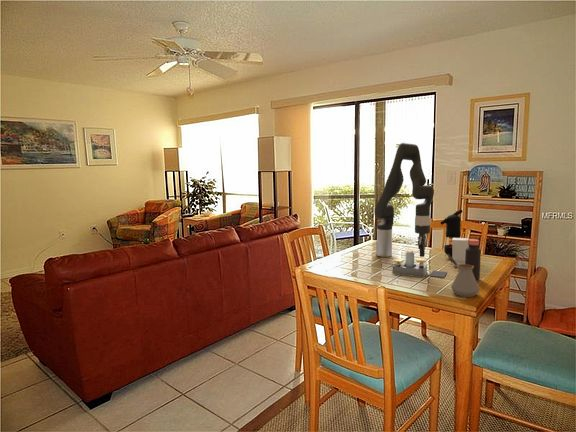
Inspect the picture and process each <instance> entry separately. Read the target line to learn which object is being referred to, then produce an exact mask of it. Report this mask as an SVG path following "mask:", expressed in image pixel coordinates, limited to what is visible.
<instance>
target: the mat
mask: <svg viewBox="0 0 576 432" xmlns="http://www.w3.org/2000/svg"><path fill="white" fill-rule="evenodd" d="M447 274H448V271H442V270H432V271H431V272H430V275H429V277H431V278H432V277H433V278H441V279H445V277H446V275H447Z"/></svg>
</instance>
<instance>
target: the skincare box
mask: <svg viewBox="0 0 576 432" xmlns="http://www.w3.org/2000/svg"><path fill="white" fill-rule="evenodd" d="M468 239H469V238H468V237H466V238H465V237H460V238H453V239H451V242H452V258H453V259H454V260H455V262H456V263H457V265H461V264H465V252H466V248H468V247H469V245H468ZM451 262H452V261H451ZM451 265H452V267H457V266H456V265H455V264H454V263H453V262H452V263H451ZM457 268H458V267H457Z"/></svg>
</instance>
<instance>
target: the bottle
mask: <svg viewBox="0 0 576 432" xmlns="http://www.w3.org/2000/svg"><path fill="white" fill-rule="evenodd" d="M479 245H480V239H476V238H468V248H466V252H465V264H467V265H472V266H474V268H473V270H472V272H473V274H474V277H475V279H476V282H477V281H480V277H481V274H480V273H481V254H482V253H481V252H482V251H481V249H480V248H479Z"/></svg>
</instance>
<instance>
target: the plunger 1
mask: <svg viewBox="0 0 576 432" xmlns="http://www.w3.org/2000/svg"><path fill="white" fill-rule="evenodd" d="M402 262H403V263H404V258H395V259H393V263H397V265H400V263H402Z"/></svg>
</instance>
